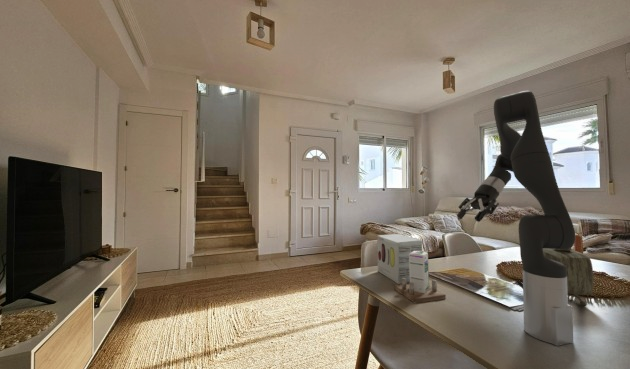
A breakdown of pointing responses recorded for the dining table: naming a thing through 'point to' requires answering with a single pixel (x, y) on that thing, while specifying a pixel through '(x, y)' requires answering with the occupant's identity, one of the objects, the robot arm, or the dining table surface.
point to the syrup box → (419, 270)
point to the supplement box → (396, 255)
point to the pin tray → (417, 296)
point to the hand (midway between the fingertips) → (467, 218)
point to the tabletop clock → (574, 270)
